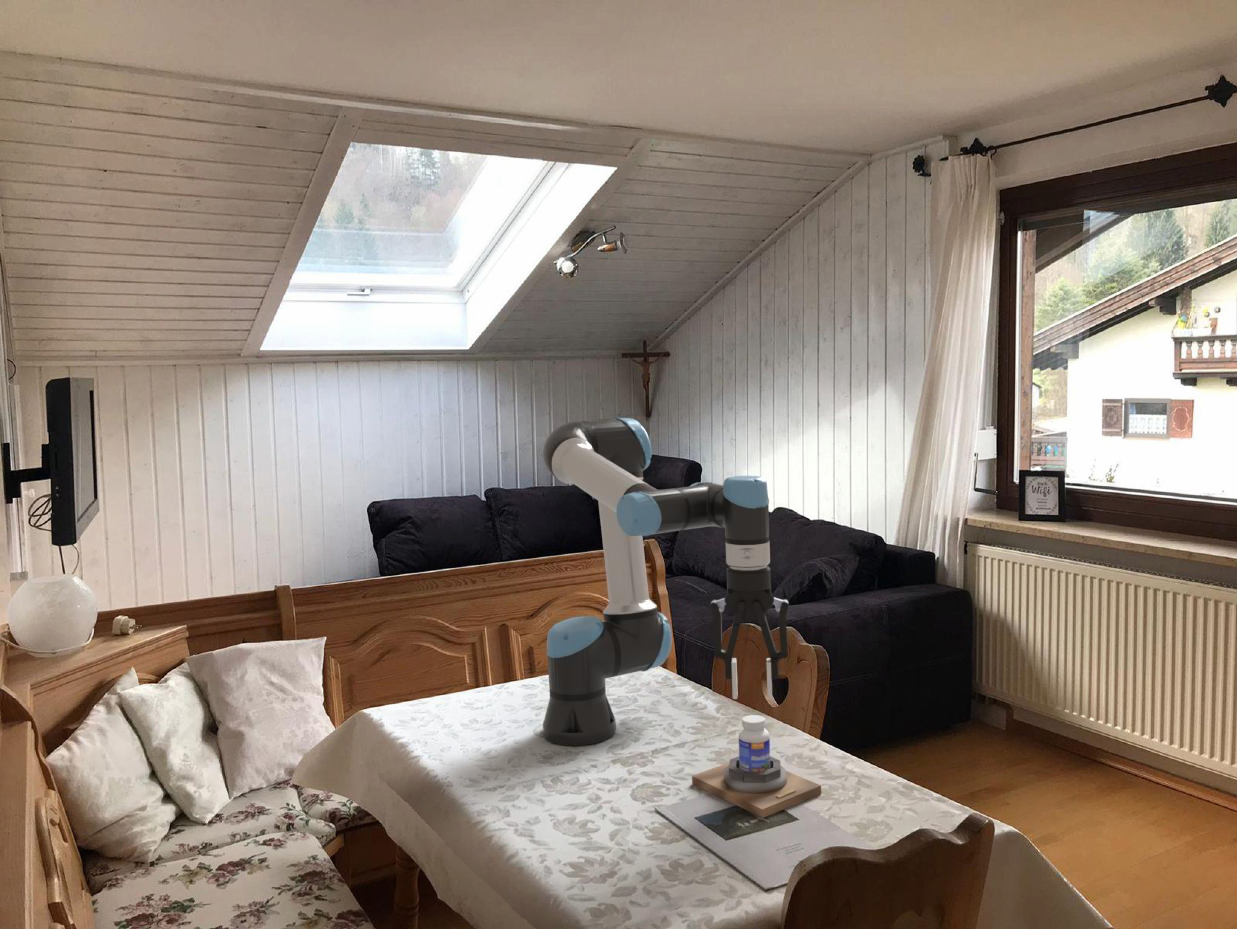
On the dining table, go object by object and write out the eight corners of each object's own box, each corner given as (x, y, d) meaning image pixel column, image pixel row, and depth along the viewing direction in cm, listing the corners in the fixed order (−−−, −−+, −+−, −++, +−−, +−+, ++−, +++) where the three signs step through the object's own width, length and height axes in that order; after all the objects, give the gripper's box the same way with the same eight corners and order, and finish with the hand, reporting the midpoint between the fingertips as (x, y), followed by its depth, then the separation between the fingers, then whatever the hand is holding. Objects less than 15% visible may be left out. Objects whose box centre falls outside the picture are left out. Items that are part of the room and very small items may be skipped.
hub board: (692, 783, 178) (691, 759, 177) (749, 763, 186) (748, 739, 185) (762, 818, 163) (761, 791, 163) (821, 793, 171) (820, 768, 171)
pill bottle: (753, 781, 170) (752, 726, 169) (733, 771, 175) (731, 718, 174) (777, 773, 173) (775, 719, 172) (756, 763, 178) (754, 711, 177)
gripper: (693, 571, 168) (698, 703, 171) (802, 569, 165) (806, 704, 168) (696, 562, 176) (701, 689, 178) (801, 560, 173) (805, 690, 175)
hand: (752, 696), depth 173 cm, fingers open, 5 cm apart
